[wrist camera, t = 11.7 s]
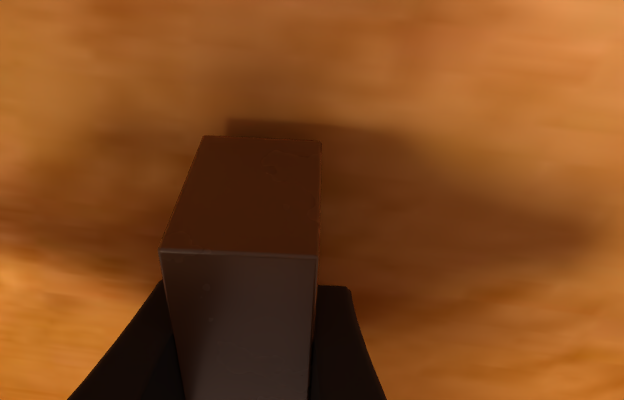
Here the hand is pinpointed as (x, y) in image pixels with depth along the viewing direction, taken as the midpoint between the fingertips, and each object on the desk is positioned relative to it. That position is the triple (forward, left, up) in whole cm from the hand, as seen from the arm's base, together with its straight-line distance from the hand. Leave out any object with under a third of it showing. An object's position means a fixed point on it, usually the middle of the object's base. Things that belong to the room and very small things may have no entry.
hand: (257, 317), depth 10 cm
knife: (-5, 0, -2) cm, 5 cm away
